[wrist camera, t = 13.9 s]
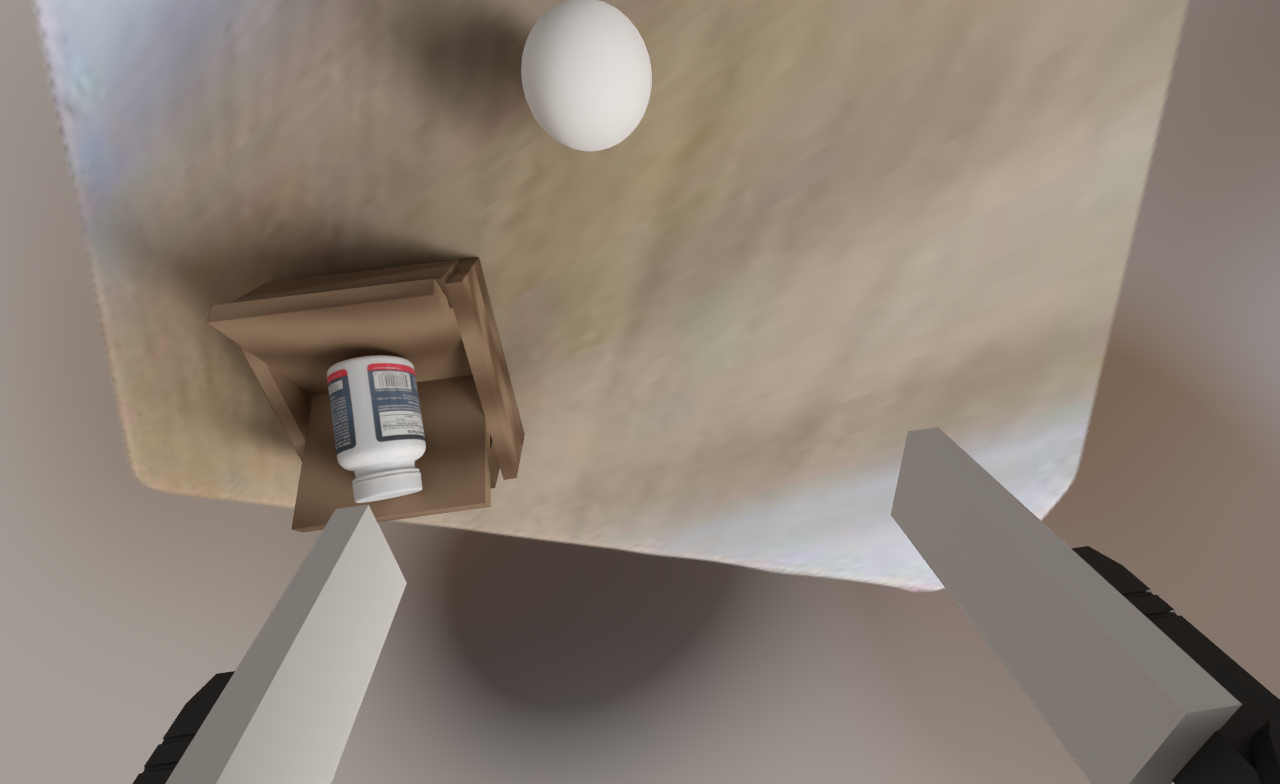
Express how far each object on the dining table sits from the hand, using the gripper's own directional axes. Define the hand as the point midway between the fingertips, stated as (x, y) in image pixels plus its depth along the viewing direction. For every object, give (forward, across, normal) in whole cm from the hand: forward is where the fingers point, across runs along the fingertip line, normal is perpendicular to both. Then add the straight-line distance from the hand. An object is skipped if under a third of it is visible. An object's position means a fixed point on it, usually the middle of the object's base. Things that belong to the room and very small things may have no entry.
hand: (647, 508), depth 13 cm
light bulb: (+29, 0, +10) cm, 31 cm away
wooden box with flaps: (+29, -17, -8) cm, 34 cm away
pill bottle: (+23, -17, -5) cm, 29 cm away
